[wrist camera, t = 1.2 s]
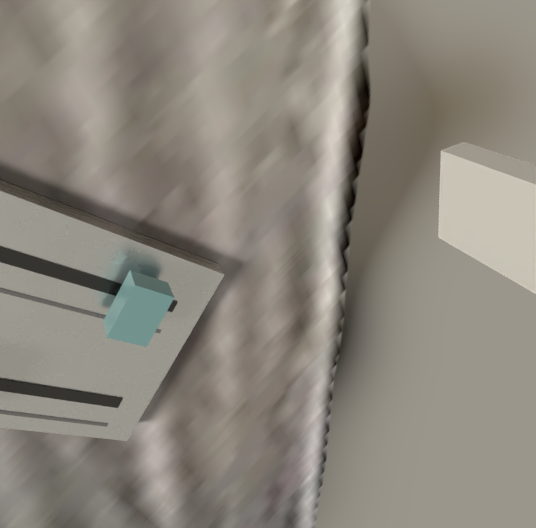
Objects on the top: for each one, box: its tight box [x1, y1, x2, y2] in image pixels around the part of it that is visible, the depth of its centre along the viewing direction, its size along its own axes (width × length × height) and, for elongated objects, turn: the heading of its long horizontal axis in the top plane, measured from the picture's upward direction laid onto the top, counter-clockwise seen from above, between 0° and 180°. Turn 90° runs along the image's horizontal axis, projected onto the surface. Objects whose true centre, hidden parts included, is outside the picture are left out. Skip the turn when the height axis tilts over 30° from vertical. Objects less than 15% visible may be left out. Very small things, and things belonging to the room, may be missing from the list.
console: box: [0, 180, 225, 441], centre depth 33 cm, size 20×18×2 cm
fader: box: [103, 270, 175, 347], centre depth 32 cm, size 3×4×3 cm
